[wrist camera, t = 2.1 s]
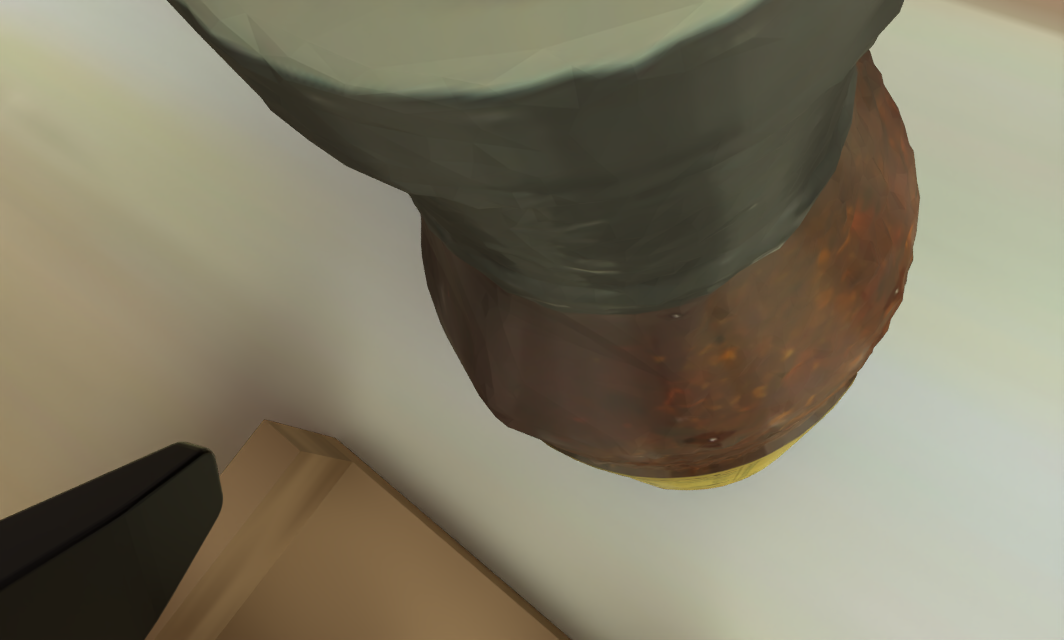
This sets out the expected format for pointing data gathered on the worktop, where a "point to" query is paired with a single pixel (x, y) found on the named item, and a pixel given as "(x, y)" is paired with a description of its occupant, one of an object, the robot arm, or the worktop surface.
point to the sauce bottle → (621, 201)
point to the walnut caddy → (333, 559)
